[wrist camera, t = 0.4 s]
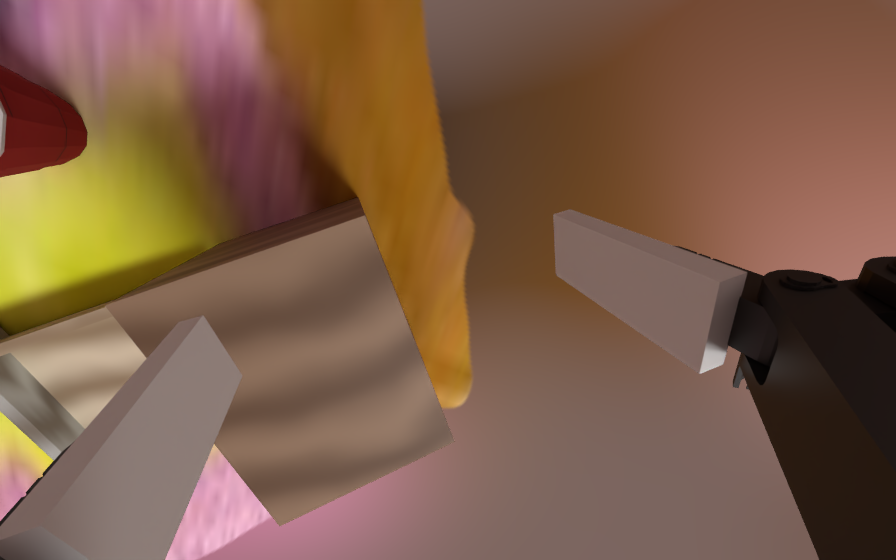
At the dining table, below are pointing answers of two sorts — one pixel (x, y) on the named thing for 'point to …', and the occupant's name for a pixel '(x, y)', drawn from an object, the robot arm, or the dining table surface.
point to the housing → (303, 357)
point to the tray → (64, 375)
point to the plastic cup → (35, 127)
